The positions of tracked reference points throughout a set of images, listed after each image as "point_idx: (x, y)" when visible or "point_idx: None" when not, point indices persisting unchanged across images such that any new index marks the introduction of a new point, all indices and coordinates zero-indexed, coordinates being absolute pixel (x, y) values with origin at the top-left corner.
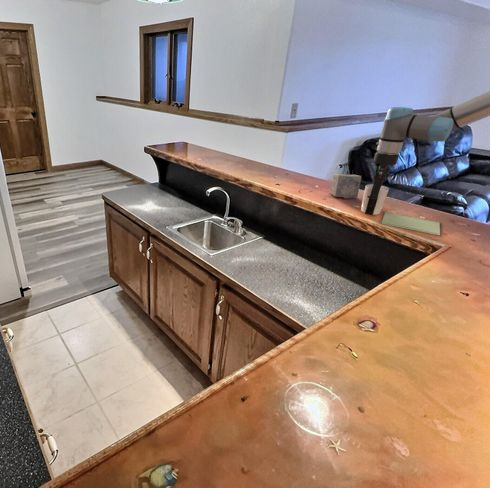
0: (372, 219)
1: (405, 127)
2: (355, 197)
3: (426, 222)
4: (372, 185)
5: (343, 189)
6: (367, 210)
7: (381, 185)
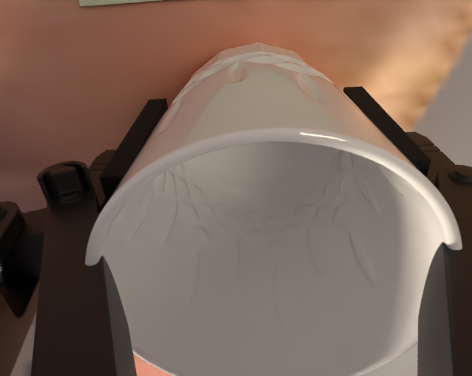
0: (344, 67)
1: None
2: None
3: None
4: (149, 338)
5: (28, 358)
6: None
7: (107, 271)
